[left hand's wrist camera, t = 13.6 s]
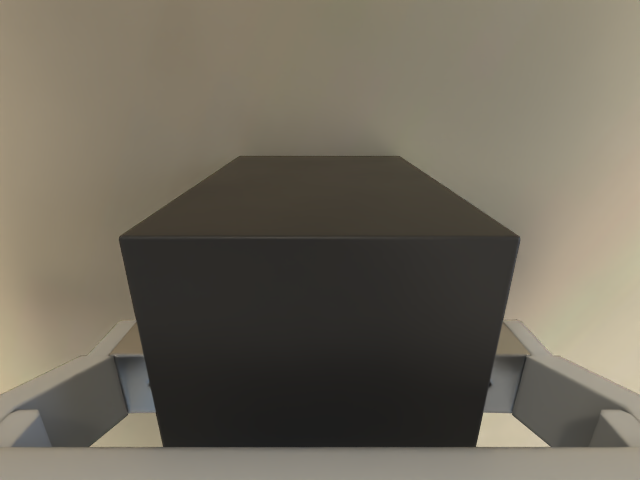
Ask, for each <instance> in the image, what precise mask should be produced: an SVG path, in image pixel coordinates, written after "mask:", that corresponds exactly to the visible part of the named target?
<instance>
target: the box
mask: <svg viewBox="0 0 640 480" xmlns="http://www.w3.org/2000/svg"><path fill="white" fill-rule="evenodd" d="M119 242H120V247H121V251H122V256H123V261H124V266H125V270H126V275H127V280H128V284H129V289H130V294H131V298H132V303H133V308H134V312H135V317H136V322H137V326H138V331H139V336H140V341H141V345H142V350H143V355H144V359H145V364H146V369H147V373H148V378H149V383H150V387H151V392H152V397H153V401H154V406H155V411H156V416H157V420H158V425H159V430H160V434H161V439H162V444H163V447H476V444H477V439H478V435H479V430H480V425H481V421H482V416H483V411H484V407H485V402H486V397H487V393H488V388H489V383H490V379H491V374H492V369H493V365H494V360H495V355H496V351H497V346H498V341H499V337H500V332H501V328H502V323H503V318H504V314H505V309H506V304H507V300H508V295H509V290H510V286H511V281H512V276H513V272H514V267H515V262H516V258H517V253H518V248H519V244H520V237H519V236H518V235H516V234H515V233H514V232H512V231H511V230H509V229H508V228H506V227H505V226H503V225H502V224H500V223H499V222H497V221H496V220H494V219H493V218H491V217H490V216H488V215H487V214H485V213H484V212H482V211H481V210H479V209H478V208H476V207H475V206H473V205H472V204H470V203H469V202H467V201H466V200H464V199H463V198H461V197H460V196H458V195H457V194H455V193H454V192H452V191H451V190H449V189H448V188H446V187H445V186H443V185H442V184H440V183H439V182H437V181H436V180H434V179H433V178H431V177H430V176H428V175H427V174H425V173H424V172H422V171H421V170H420V169H418V168H417V167H415V166H414V165H412V164H411V163H409V162H408V161H406V160H405V159H403V158H402V157H400V156H239V157H238V158H236V159H235V160H233V161H232V162H230V163H229V164H227V165H226V166H224V167H223V168H221V169H220V170H218V171H217V172H215V173H214V174H212V175H211V176H209V177H208V178H206V179H205V180H203V181H202V182H200V183H199V184H197V185H196V186H194V187H193V188H191V189H190V190H188V191H187V192H185V193H184V194H182V195H181V196H179V197H178V198H176V199H175V200H173V201H172V202H170V203H169V204H167V205H166V206H164V207H163V208H161V209H160V210H158V211H157V212H155V213H154V214H152V215H151V216H149V217H148V218H146V219H145V220H143V221H142V222H140V223H139V224H137V225H136V226H134V227H133V228H131V229H130V230H128V231H127V232H125V233H124V234H122V235H121V236H120V237H119Z"/></svg>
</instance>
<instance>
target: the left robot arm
mask: <svg viewBox="0 0 640 480" xmlns="http://www.w3.org/2000/svg"><path fill="white" fill-rule="evenodd" d="M153 412H156V411H155V406H154V401H153V397H152V392H151V387H150V383H149V378H148V373H147V369H146V364H145V359H144V355H143V350H142V345H141V341H140V336H139V331H138V326H137V322H136V320H122V321H119V322H118V323H117V324H116V325H115V326H114V327H113V328H112V329H111V330H110V331H109V332H108V334H107V335H106V336H105V337H104V338H103V339H102V340H101V341H100V342H99V343H98V344H97V345H96V346H95V348H94V349H93V350H92V351H91V352H90V353H89V354H88V355H87V356H79V357H77V358H75V359H73V360H71V361H69V362H67V363H65V364H63V365H61V366H59V367H57V368H55V369H53V370H50V371H48V372H46V373H44V374H42V375H40V376H38V377H36V378H34V379H32V380H30V381H28V382H26V383H23V384H21V385H19V386H17V387H15V388H13V389H11V390H9V391H7V392H5V393H3V394H1V395H0V480H640V395H639V394H637V393H635V392H633V391H631V390H629V389H627V388H625V387H623V386H621V385H618V384H616V383H614V382H612V381H610V380H608V379H606V378H604V377H602V376H600V375H598V374H596V373H594V372H592V371H589V370H587V369H585V368H583V367H581V366H579V365H577V364H575V363H573V362H571V361H569V360H567V359H565V358H563V357H561V356H553V355H552V354H551V353H550V352H549V351H548V350H547V349H546V348H545V346H544V345H543V344H542V343H541V342H540V341H539V340H538V339H537V338H536V337H535V336H534V335H533V334H532V332H531V331H530V330H529V329H528V328H527V327H526V326H525V325H524V324H523V323H522V322H521V321H519V320H503V323H502V328H501V332H500V337H499V341H498V346H497V351H496V355H495V360H494V365H493V369H492V374H491V379H490V383H489V388H488V393H487V397H486V402H485V407H484V411H483V412H486V413H512V415H513V416H514V417H515V418H517V419H518V420H519V421H520V422H521V423H523V424H524V425H525V426H526V427H527V428H529V429H530V430H531V431H532V432H534V433H535V434H536V435H537V436H538V437H540V438H541V439H542V440H543V441H544V442H546V443H547V444H548V445H549V446H551V447H90V446H91V445H92V444H93V443H94V442H96V441H97V440H98V439H99V438H100V437H102V436H103V435H104V434H105V433H107V432H108V431H109V430H110V429H111V428H113V427H114V426H115V425H116V424H118V423H119V422H120V421H121V420H122V419H124V418H125V417H126V416H127V415H128V413H153Z"/></svg>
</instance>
